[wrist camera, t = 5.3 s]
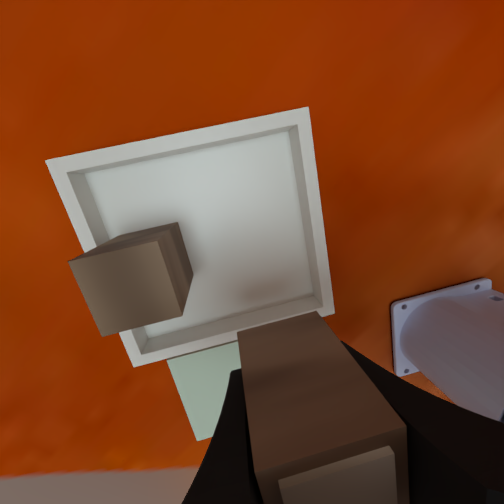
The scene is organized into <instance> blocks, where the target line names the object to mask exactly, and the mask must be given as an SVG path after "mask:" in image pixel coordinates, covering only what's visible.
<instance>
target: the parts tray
mask: <svg viewBox="0 0 504 504" xmlns="http://www.w3.org/2000/svg"><path fill="white" fill-rule="evenodd" d="M45 162H46V164H47V166H48V169H49V171H50V173H51V176H52V178H53V180H54V183H55V185H56V187H57V190H58V192H59V194H60V197H61V199H62V201H63V204H64V206H65V208H66V211H67V213H68V215H69V218H70V220H71V222H72V225H73V227H74V229H75V232H76V234H77V236H78V239H79V241H80V243H81V246H82V248H83V250H84V253H86V252H88V251H89V250H91V249H93V248H95V247H97V246H99V245H101V244H103V243H105V242H107V241H109V240H111V239H113V238H115V237H117V236H119V235H122V234H127V233H131V232H135V231H140V230H144V229H148V228H153V227H157V226H161V225H166V224H170V223H175V222H178V224H179V227H180V231H181V234H182V237H183V241H184V244H185V247H186V251H187V254H188V257H189V261H190V264H191V267H192V271H193V274H194V275H193V279H192V283H191V286H190V290H189V294H188V298H187V301H186V305H185V309H184V312H183V316H181V317H177V318H173V319H169V320H165V321H162V322H158V323H154V324H150V325H146V326H142V327H138V328H134V329H130V330H127V331H123V332H119V334H120V337H121V339H122V341H123V343H124V346H125V348H126V350H127V353H128V355H129V357H130V360H131V362H132V364H133V367H137V366H141V365H144V364H148V363H152V362H156V361H159V360H163V359H167V358H170V357H174V356H178V355H182V354H185V353H189V352H193V351H197V350H200V349H204V348H208V347H212V346H215V345H219V344H223V343H227V342H230V341H234V340H238V338H237V332H238V331H242V330H246V329H249V328H253V327H257V326H261V325H265V324H268V323H272V322H276V321H280V320H283V319H287V318H291V317H295V316H298V315H302V314H306V313H310V312H313V311H317V312H318V313H319V315H320V316H321V317H324V316H327V315H331V314H335V310H334V302H333V294H332V286H331V279H330V271H329V263H328V255H327V247H326V240H325V232H324V224H323V216H322V208H321V201H320V193H319V185H318V177H317V169H316V162H315V154H314V146H313V138H312V130H311V123H310V115H309V107H304V108H299V109H294V110H289V111H285V112H280V113H275V114H270V115H265V116H260V117H255V118H250V119H245V120H240V121H236V122H231V123H226V124H221V125H216V126H211V127H206V128H201V129H196V130H191V131H186V132H182V133H177V134H172V135H167V136H162V137H157V138H152V139H147V140H142V141H137V142H133V143H128V144H123V145H118V146H113V147H108V148H103V149H98V150H93V151H88V152H84V153H79V154H74V155H69V156H64V157H59V158H54V159H49V160H45Z"/></svg>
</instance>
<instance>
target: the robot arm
mask: <svg viewBox="0 0 504 504" xmlns="http://www.w3.org/2000/svg"><path fill="white" fill-rule="evenodd" d="M491 287H492V281H491V280H490V279H487V278H482V279H478V280H474V281H470V282H467V283H463V284H459V285H456V286H452V287H448V288H444V289H441V290H437V291H433V292H430V293H426V294H422V295H418V296H415V297H411V298H407V299H404V300H400V301H396V302H394V303H393V304H392V305H391V319H392V338H393V357H394V372H395V374H396V375H397V376H399V377H401V376H405V375H408V374H412V373H415V372H418V371H420V372H422V373H423V374H424V375H425V376H426V377H427V378H428V379H429V380H430V381H431V382H432V383H433V384H435V385H436V386H437V387H438V388H439V389H440V390H441V391H442V392H443V393H444V394H445V395H446V396H448V397H449V398H450V399H451V400H452V401H453V402H454V403H455V404H456V405H455V404H453V403H450V402H448V401H445V400H443V399H441V398H439V397H437V396H434V395H432V394H430V393H428V392H426V391H424V390H422V389H420V388H418V387H416V386H414V385H412V384H410V383H408V382H406V381H405V380H403V379H401V378H399V377H397V376H396V375H394V374H392V373H390V372H389V371H387V370H385V369H384V368H382V367H381V366H379V365H377V364H376V363H374V362H373V361H371V360H370V359H368V358H367V357H365V356H364V355H362V354H361V353H359V352H358V351H356V350H355V349H353V348H352V347H350V346H349V345H347V344H346V343H344V342H343V341H341V343H342V344H343V345H344V347H345V348H346V349H347V350H348V352H349V353H350V354H351V356H352V357H353V358H354V359H355V361H356V362H357V363H358V365H359V366H360V367H361V368H362V370H363V371H364V372H365V373H366V375H367V376H368V377H369V379H370V380H371V381H372V382H373V384H374V385H375V386H376V388H377V389H378V390H379V391H380V393H381V394H382V395H383V396H384V398H385V399H386V400H387V402H388V403H389V404H390V405H391V407H392V408H393V409H394V411H395V412H396V413H397V414H398V416H399V417H400V418H401V419H402V421H403V422H404V423H405V425H406V428H407V453H408V479H409V504H504V294H503V293H500V292H498V291H495V290H493V289H491ZM402 305H404V306H403V307H402ZM182 504H264V502H263V499H262V495H261V492H260V489H259V485H258V482H257V479H256V475H255V471H254V464H253V456H252V448H251V440H250V432H249V424H248V417H247V409H246V401H245V393H244V385H243V377H242V370H241V368H240V369H236V370H232V371H231V372H230V376H229V382H228V387H227V392H226V396H225V400H224V403H223V406H222V410H221V413H220V417H219V420H218V422H217V425H216V428H215V431H214V434H213V437H212V439H211V442H210V444H209V447H208V449H207V452H206V454H205V457H204V459H203V461H202V463H201V466H200V468H199V470H198V472H197V474H196V477H195V478H194V480H193V483H192V485H191V487H190V489H189V491H188V493H187V495H186V496H185V498H184V500H183V502H182Z"/></svg>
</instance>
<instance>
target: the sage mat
mask: <svg viewBox="0 0 504 504" xmlns="http://www.w3.org/2000/svg"><path fill="white" fill-rule="evenodd" d="M167 363H168V365H169V368H170V370H171V373H172V376H173V378H174V381H175V384H176V386H177V389H178V392H179V394H180V397H181V400H182V402H183V405H184V408H185V410H186V413H187V415H188V418H189V421H190V423H191V426H192V429H193V431H194V434H195V437H196V439H197V441H199V440H203V439H206V438H209V437H213V434H214V431H215V428H216V425H217V422H218V420H219V417H220V413H221V410H222V406H223V403H224V400H225V396H226V392H227V387H228V382H229V376H230V372H231V371H232V370H236V369H240V368H241V362H240V354H239V346H238V340H234V341H230V342H227V343H223V344H219V345H215V346H212V347H208V348H204V349H200V350H197V351H193V352H189V353H185V354H182V355H178V356H174V357H170V358H167Z"/></svg>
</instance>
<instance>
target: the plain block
mask: <svg viewBox="0 0 504 504" xmlns="http://www.w3.org/2000/svg"><path fill="white" fill-rule="evenodd" d="M68 263H69V265H70V267H71V270H72V272H73V274H74V276H75V278H76V281H77V283H78V285H79V287H80V289H81V292H82V294H83V296H84V298H85V300H86V303H87V305H88V307H89V309H90V311H91V314H92V316H93V318H94V320H95V322H96V325H97V327H98V329H99V331H100V333H101V336H102V337H103V336H107V335H111V334H115V333H119V332H123V331H127V330H130V329H134V328H138V327H142V326H146V325H150V324H154V323H158V322H162V321H165V320H169V319H173V318H177V317H181V316H183V312H184V309H185V305H186V301H187V298H188V294H189V290H190V286H191V283H192V279H193V275H194V274H193V271H192V267H191V264H190V261H189V257H188V254H187V251H186V247H185V244H184V241H183V237H182V234H181V231H180V227H179V224H178V222H175V223H170V224H166V225H161V226H157V227H153V228H148V229H144V230H140V231H135V232H131V233H127V234H122V235H119V236H117V237H115V238H113V239H111V240H109V241H107V242H105V243H103V244H101V245H99V246H97V247H95V248H93V249H91V250H89V251H88V252H86V253H84V254H82V255H80V256H78V257H76V258H74V259H72V260H70V261H68Z"/></svg>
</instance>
